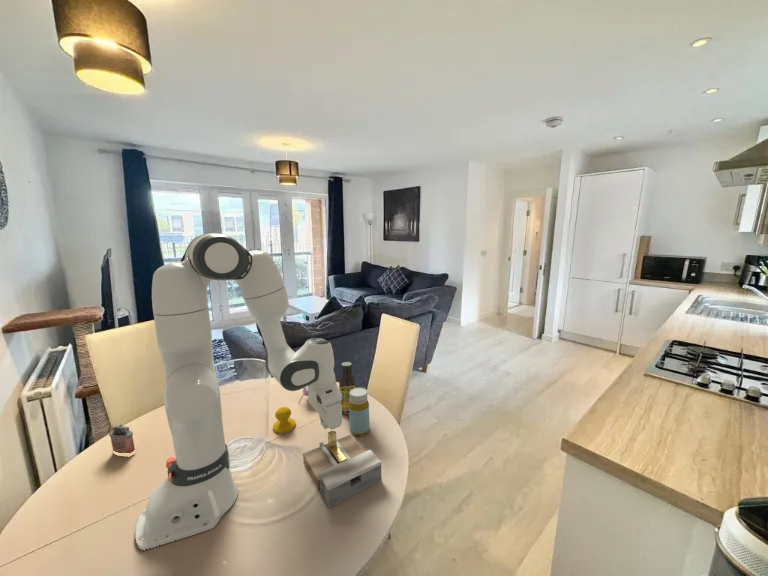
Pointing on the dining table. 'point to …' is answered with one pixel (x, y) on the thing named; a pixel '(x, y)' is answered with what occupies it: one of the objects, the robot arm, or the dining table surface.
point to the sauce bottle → (346, 386)
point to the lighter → (122, 439)
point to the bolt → (335, 448)
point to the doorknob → (283, 421)
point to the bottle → (359, 412)
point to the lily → (304, 392)
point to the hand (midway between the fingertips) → (325, 426)
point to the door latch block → (342, 470)
